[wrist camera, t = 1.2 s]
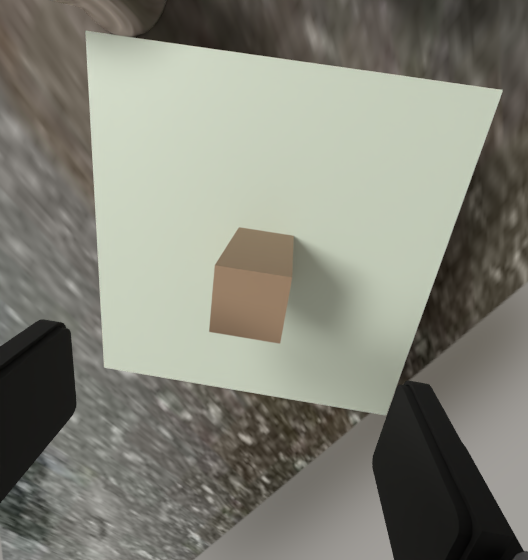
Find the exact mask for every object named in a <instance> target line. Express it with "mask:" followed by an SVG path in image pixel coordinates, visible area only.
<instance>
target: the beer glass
mask: <svg viewBox="0 0 528 560" xmlns="http://www.w3.org/2000/svg"><path fill="white" fill-rule="evenodd" d="M50 1H54V2H58V3H63V4H67V5H72V6H76V7H79V8H82V9H83V10H84V11H85V12H86V13H87V14H88V16H89V17H90V18H91V19H92V20H93V21H94V22H96V23H97V24H98V25H99V26H100V27H102V28H103V29H105V30H106V31H108V32H110V33H112V34H114V35H118V36H125V37H135V36H139V35H141V34H143V33H145V32H147V31H148V30H150V29H151V28H152V27H153V26H154V25H155V24H156V22H157V21H158V20H159V18H160V16H161V14H162V12H163V10H164V7H165V3H166V0H50Z"/></svg>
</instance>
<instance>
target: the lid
mask: <svg viewBox="0 0 528 560" xmlns="http://www.w3.org/2000/svg"><path fill="white" fill-rule="evenodd" d="M85 32H86V50H87V68H88V85H89V103H90V121H91V139H92V157H93V175H94V193H95V211H96V229H97V247H98V265H99V283H100V301H101V319H102V337H103V355H104V368H110V369H116V370H122V371H128V372H134V373H139V374H145V375H151V376H157V377H163V378H169V379H175V380H181V381H187V382H192V383H198V384H204V385H210V386H216V387H222V388H228V389H234V390H239V391H245V392H251V393H257V394H263V395H269V396H275V397H281V398H287V399H292V400H298V401H304V402H310V403H316V404H322V405H328V406H334V407H340V408H345V409H351V410H357V411H363V412H369V413H375V414H381V415H386V414H387V411H388V408H389V406H390V403H391V400H392V397H393V395H394V392H395V389H396V386H397V383H398V381H399V378H400V375H401V372H402V370H403V367H404V364H405V361H406V358H407V356H408V353H409V350H410V347H411V344H412V342H413V339H414V336H415V333H416V331H417V328H418V325H419V322H420V319H421V317H422V314H423V311H424V308H425V306H426V303H427V300H428V297H429V294H430V292H431V289H432V286H433V283H434V281H435V278H436V275H437V272H438V269H439V267H440V264H441V261H442V258H443V255H444V253H445V250H446V247H447V244H448V242H449V239H450V236H451V233H452V230H453V228H454V225H455V222H456V219H457V217H458V214H459V211H460V208H461V205H462V203H463V200H464V197H465V194H466V192H467V189H468V186H469V183H470V180H471V178H472V175H473V172H474V169H475V166H476V164H477V161H478V158H479V155H480V153H481V150H482V147H483V144H484V141H485V139H486V136H487V133H488V130H489V128H490V125H491V122H492V119H493V116H494V114H495V111H496V108H497V105H498V103H499V100H500V97H501V94H502V91H503V90H498V89H491V88H484V87H477V86H470V85H463V84H456V83H449V82H442V81H435V80H428V79H421V78H414V77H407V76H400V75H393V74H386V73H379V72H372V71H365V70H358V69H351V68H344V67H337V66H329V65H322V64H315V63H308V62H301V61H294V60H287V59H280V58H273V57H266V56H259V55H252V54H245V53H238V52H231V51H224V50H217V49H210V48H203V47H196V46H189V45H182V44H175V43H168V42H161V41H154V40H147V39H139V38H132V37H125V36H118V35H111V34H104V33H97V32H90V31H85Z"/></svg>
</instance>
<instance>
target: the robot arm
mask: <svg viewBox="0 0 528 560" xmlns="http://www.w3.org/2000/svg"><path fill="white" fill-rule="evenodd" d="M75 408H76V392H75V379H74V367H73V355H72V343H71V333H70V330H69V329H66V326H65V325H64V324H63V323H61V322H55V321H49V320H39V321H37V322H35V323H34V324H33V325H31V326H30V327H28V328H27V329H25V330H24V331H22V332H21V333H19V334H18V335H16V336H15V337H14V338H12V339H11V340H9V341H8V342H6V343H5V344H3V345H2V346H0V503H1V501H2V500H3V499H4V498H5V497H6V495H7V494H8V493H9V492H10V490H11V489H12V488H13V487H14V486H15V484H16V483H17V482H18V481H19V480H20V478H21V477H22V476H23V475H24V474H25V472H26V471H27V470H28V469H29V467H30V466H31V465H32V464H33V463H34V461H35V460H36V459H37V458H38V457H39V455H40V454H41V453H42V452H43V450H44V449H45V448H46V447H47V446H48V444H49V443H50V442H51V441H52V440H53V438H54V437H55V436H56V435H57V434H58V432H59V431H60V430H61V429H62V427H63V426H64V425H65V424H66V423H67V421H68V420H69V419H70V418H71V416H72V415H73V413H74V411H75ZM372 464H373V472H374V475H375V480H376V484H377V489H378V493H379V497H380V501H381V505H382V510H383V514H384V518H385V523H386V527H387V531H388V535H389V539H390V544H391V548H392V552H393V557H394V560H528V551H523V549H522V547H521V545H520V544H519V542H518V540H517V538H516V536H515V534H514V533H513V531H512V529H511V527H510V526H509V524H508V522H507V520H506V518H505V517H504V515H503V513H502V511H501V509H500V508H499V506H498V504H497V502H496V500H495V499H494V497H493V495H492V493H491V492H490V490H489V488H488V486H487V484H486V483H485V481H484V479H483V477H482V475H481V474H480V472H479V470H478V468H477V466H476V465H475V463H474V461H473V459H472V458H471V456H470V454H469V452H468V450H467V449H466V447H465V446H464V444H463V443H462V442H461V440H460V438H459V436H458V434H457V433H456V431H455V429H454V427H453V425H452V424H451V422H450V420H449V418H448V417H447V415H446V413H445V411H444V409H443V407H442V406H441V404H440V402H439V400H438V399H437V397H436V395H435V393H434V391H433V389H432V388H431V386H430V385H429V384H424V383H419V382H413V381H406V382H405V383H404V385H398V386H397V388H396V391H395V394H394V397H393V400H392V403H391V406H390V408H389V411H388V414H387V417H386V420H385V423H384V426H383V429H382V432H381V434H380V437H379V440H378V443H377V446H376V449H375V452H374V455H373V463H372Z"/></svg>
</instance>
